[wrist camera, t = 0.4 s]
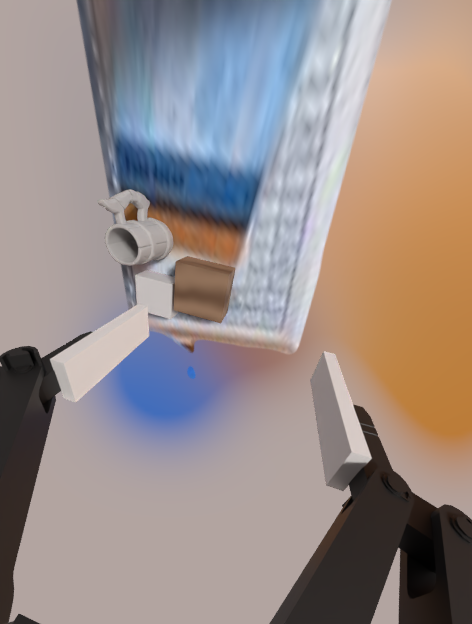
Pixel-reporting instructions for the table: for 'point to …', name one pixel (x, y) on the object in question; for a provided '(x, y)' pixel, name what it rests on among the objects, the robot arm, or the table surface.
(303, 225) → the table surface
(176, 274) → the walnut block
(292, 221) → the table surface
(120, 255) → the mug
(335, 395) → the robot arm
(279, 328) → the table surface
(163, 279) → the grey block
